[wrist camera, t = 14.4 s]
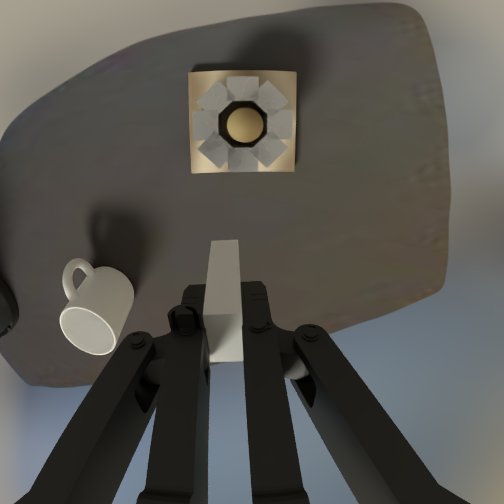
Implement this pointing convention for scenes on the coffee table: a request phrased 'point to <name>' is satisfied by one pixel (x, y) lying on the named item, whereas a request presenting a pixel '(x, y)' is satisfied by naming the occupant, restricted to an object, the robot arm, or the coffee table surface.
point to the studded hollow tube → (235, 152)
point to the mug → (95, 307)
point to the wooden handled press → (242, 116)
